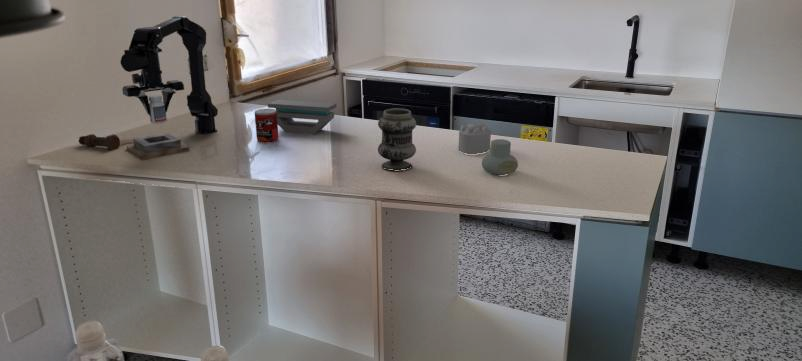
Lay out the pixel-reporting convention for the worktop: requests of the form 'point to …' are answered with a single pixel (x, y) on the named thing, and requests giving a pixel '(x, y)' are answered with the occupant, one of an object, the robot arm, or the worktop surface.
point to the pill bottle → (157, 110)
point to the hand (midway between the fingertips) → (157, 113)
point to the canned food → (266, 125)
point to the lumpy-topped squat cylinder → (474, 138)
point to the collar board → (154, 154)
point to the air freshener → (500, 158)
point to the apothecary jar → (397, 138)
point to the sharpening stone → (302, 115)
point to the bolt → (100, 141)
